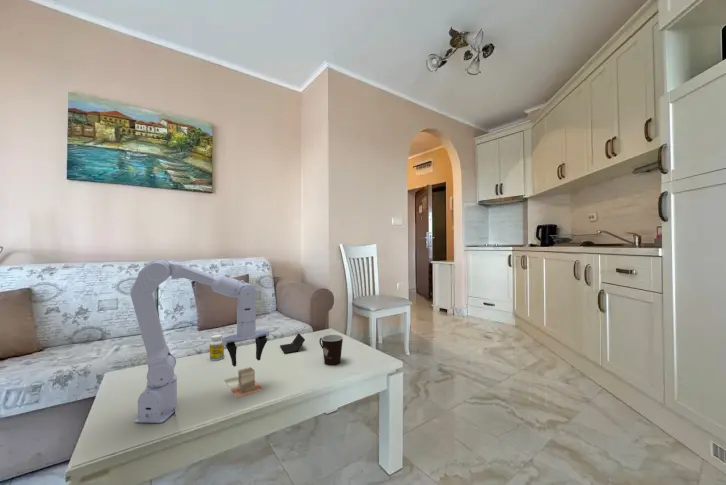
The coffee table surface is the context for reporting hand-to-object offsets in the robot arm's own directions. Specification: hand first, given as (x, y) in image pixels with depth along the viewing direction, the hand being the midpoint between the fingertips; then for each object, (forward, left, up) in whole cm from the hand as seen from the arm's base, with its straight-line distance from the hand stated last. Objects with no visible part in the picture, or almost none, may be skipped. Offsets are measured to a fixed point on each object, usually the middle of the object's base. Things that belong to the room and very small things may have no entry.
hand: (246, 362), depth 98 cm
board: (+4, +3, -10) cm, 11 cm away
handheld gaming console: (+41, -4, -10) cm, 42 cm away
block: (0, 0, -9) cm, 9 cm away
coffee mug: (+27, -24, -10) cm, 37 cm away
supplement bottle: (+29, +25, -10) cm, 39 cm away
